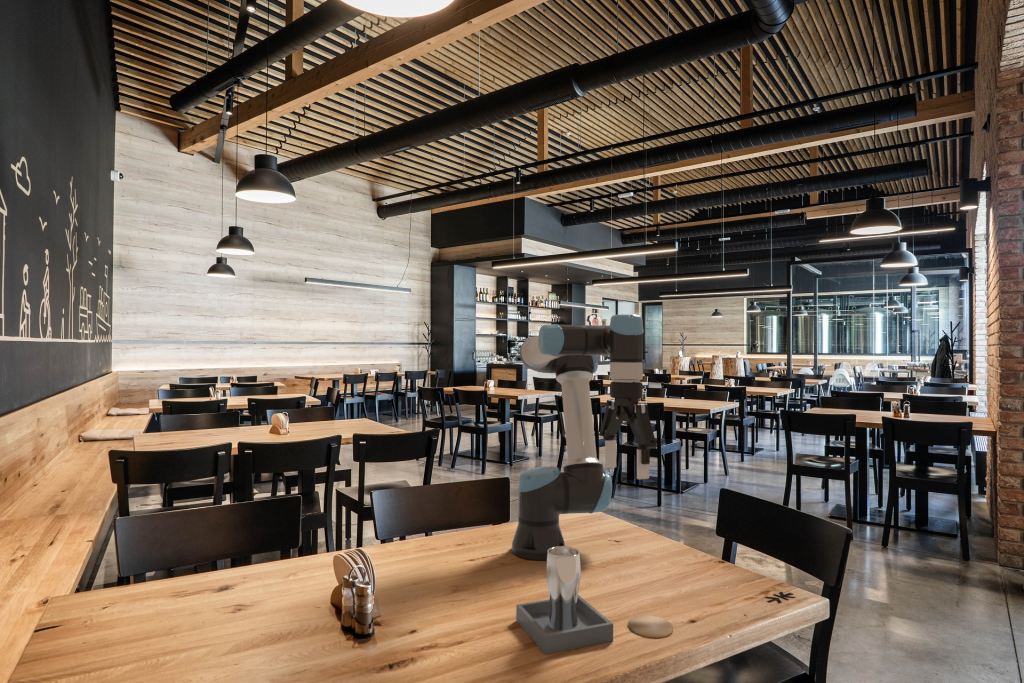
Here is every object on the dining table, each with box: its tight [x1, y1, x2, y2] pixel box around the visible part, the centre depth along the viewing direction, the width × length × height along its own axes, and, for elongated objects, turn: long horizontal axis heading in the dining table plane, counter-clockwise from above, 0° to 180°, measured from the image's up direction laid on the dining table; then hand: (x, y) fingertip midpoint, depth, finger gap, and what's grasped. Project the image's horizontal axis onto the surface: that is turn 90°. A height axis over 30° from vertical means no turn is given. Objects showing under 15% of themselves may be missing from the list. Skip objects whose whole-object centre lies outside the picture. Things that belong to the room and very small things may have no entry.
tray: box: [515, 594, 614, 655], centre depth 116 cm, size 15×15×3 cm
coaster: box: [627, 614, 674, 639], centre depth 118 cm, size 9×9×1 cm
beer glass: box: [545, 545, 582, 632], centre depth 117 cm, size 7×7×15 cm
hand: (626, 472), depth 133 cm, fingers open, 13 cm apart
